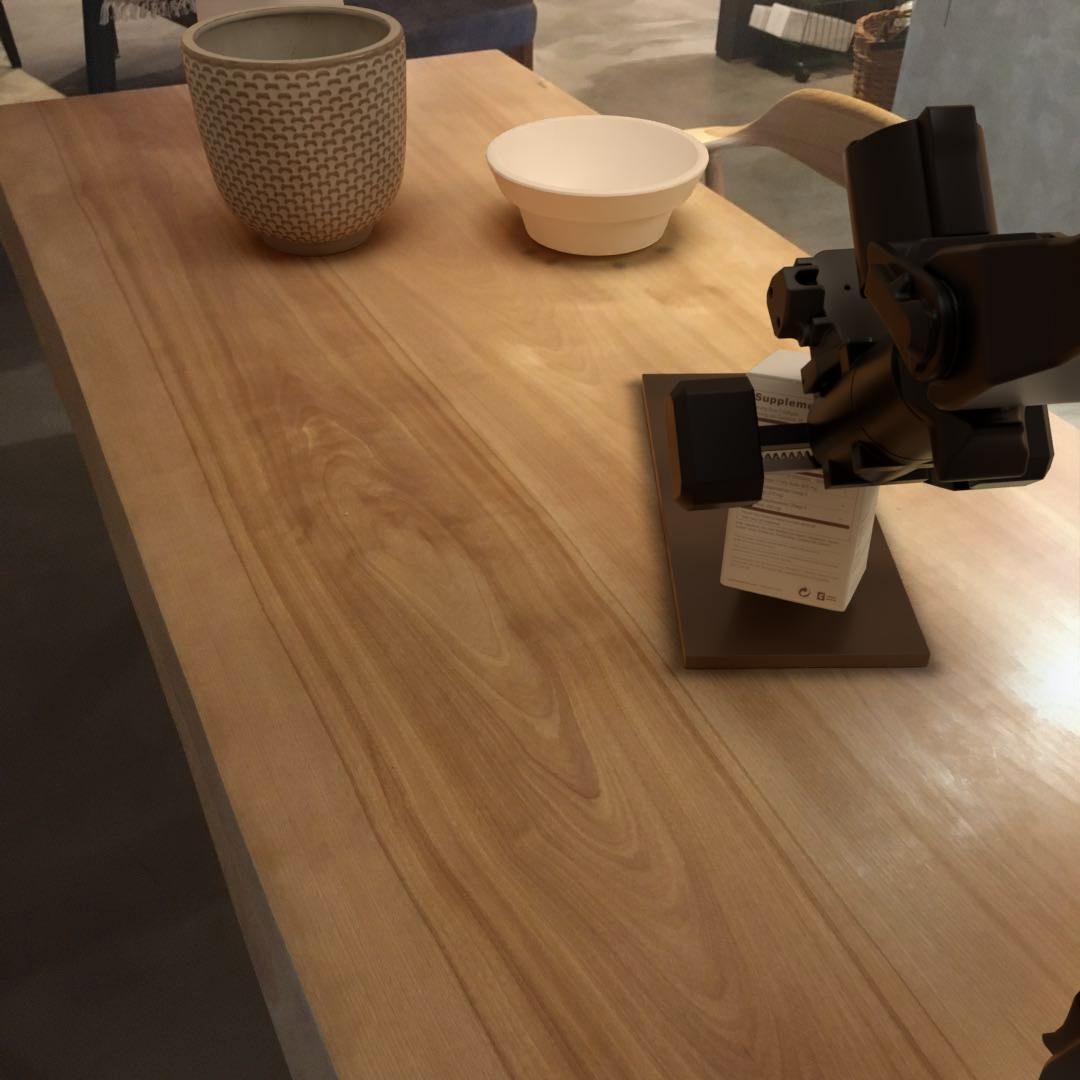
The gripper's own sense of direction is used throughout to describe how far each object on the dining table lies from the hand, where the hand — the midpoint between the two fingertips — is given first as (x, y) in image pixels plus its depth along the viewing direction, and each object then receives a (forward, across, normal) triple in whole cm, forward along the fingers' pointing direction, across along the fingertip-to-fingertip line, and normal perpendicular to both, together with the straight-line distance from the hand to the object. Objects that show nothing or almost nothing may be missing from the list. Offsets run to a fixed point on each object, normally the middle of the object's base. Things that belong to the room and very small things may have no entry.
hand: (806, 467), depth 67 cm
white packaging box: (+4, 0, +6) cm, 7 cm away
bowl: (+46, +3, -33) cm, 57 cm away
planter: (+48, +30, -35) cm, 67 cm away
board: (+14, -1, 0) cm, 14 cm away
